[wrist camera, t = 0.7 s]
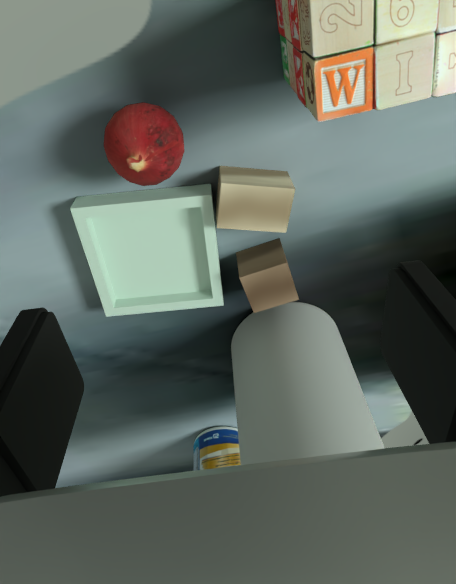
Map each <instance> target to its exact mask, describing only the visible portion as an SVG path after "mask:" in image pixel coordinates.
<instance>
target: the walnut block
mask: <svg viewBox="0 0 456 584" xmlns="http://www.w3.org/2000/svg"><path fill="white" fill-rule="evenodd" d="M236 256H237V264H238V271H239V278H240V281H241V283H242V285H243V288H244V290H245V293H246V295H247V297H248V300H249V302H250V305H251V307H252V309H253V312H254V313H256V312H260V311H263V310H266V309H269V308H273V307H276V306H279V305H283V304H286V303H289V302H292V301H296V300H299V298H298V295H297V292H296V289H295V285H294V282H293V279H292V276H291V272H290V269H289V266H288V263H287V260H286V257H285V254H284V251H283V248H282V245H281V241H280V238H278V239H275V240H272V241H269V242H266V243H263V244H260V245H257V246H254V247H251V248H248V249H245V250H242V251H239V252H236Z"/></svg>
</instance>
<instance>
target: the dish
mask: <svg viewBox="0 0 456 584" xmlns="http://www.w3.org/2000/svg"><path fill="white" fill-rule="evenodd" d="M70 210H71V213H72V216H73V219H74V222H75V225H76V228H77V231H78V234H79V237H80V240H81V243H82V246H83V249H84V252H85V255H86V258H87V261H88V264H89V267H90V270H91V273H92V276H93V278H94V281H95V284H96V287H97V290H98V293H99V296H100V299H101V302H102V305H103V308H104V311H105V314H106V317H108V316H118V315H129V314H139V313H149V312H160V311H170V310H181V309H191V308H201V307H212V306H222V305H224V303H223V290H222V280H221V271H220V262H219V253H218V244H217V235H216V226H215V217H214V208H213V199H212V190H211V184H203V185H192V186H182V187H172V188H162V189H151V190H141V191H131V192H121V193H110V194H100V195H90V196H80V197H76V199H75V201H74V203H73V204H72V206H71V208H70Z"/></svg>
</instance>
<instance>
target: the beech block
mask: <svg viewBox="0 0 456 584" xmlns="http://www.w3.org/2000/svg"><path fill="white" fill-rule="evenodd" d="M294 192H295V187H294V185H293V183H292V181H291V179H290V177H289V174H288V172H287V171H275V170H263V169H251V168H240V167H228V166H220V167H219V177H218V188H217V199H216V221H217V228H225V229H239V230H254V231H269V232H283V233H286V230H287V226H288V221H289V216H290V211H291V207H292V202H293V197H294Z"/></svg>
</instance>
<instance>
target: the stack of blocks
mask: <svg viewBox="0 0 456 584" xmlns="http://www.w3.org/2000/svg"><path fill="white" fill-rule="evenodd" d="M275 1H276V11H277V20H278V29H279V34H280V42H281V52H282V62H283V73H284V79H285V80H286V81H287V83H288V84H289V85H290V86H291V87H292V88H293V90H294V91H295V93H296V94H297V95H298V98H299V99H300V101H301V102H302V103H303V104H304V106H305V107H306V108H308V109H309V110H310V112H311V113H312V115H313V116H314V117H315V119H316V120H317V121H318V122H322V121H327V120H331V119H335V118H339V117H344V116H348V115H353V114H357V113H362V112H366V111H370V110H372V109H375V110H382V109H386V108H390V107H394V106H398V105H402V104H406V103H410V102H415V101H418V100H422V99H426V98H429V97H431V96H432V97H440V96H445V95H449V94H452V93H456V0H275Z"/></svg>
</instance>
